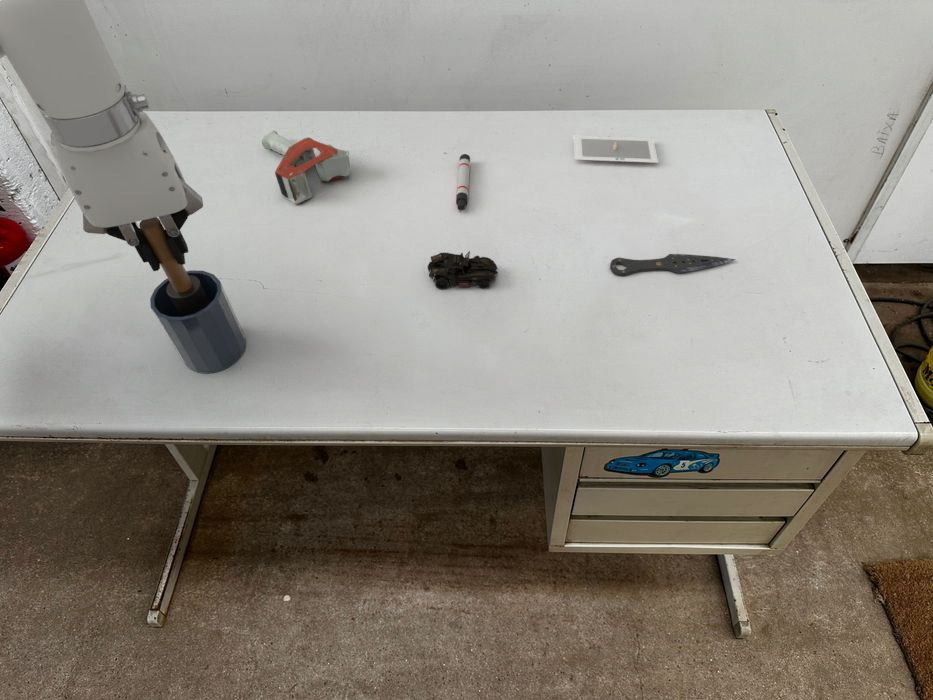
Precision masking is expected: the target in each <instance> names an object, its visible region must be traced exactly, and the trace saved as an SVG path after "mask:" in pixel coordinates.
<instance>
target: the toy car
mask: <svg viewBox="0 0 933 700" xmlns="http://www.w3.org/2000/svg"><path fill="white" fill-rule="evenodd" d="M470 255H471V251H470V250H469V251H468V252H467V253H466V254H465V255H464V253H463V252H461V253H460V254H456V253H450V252H439V253H437V254H433V255H432V256H430V261H429V263H428V264H427V270H428V273H429V274H428V277H430V278H431V279H432V280H433V282H435V287H436V288H437V289H439V290H445V289H446V290H447V289H448V288H449V287H450V288H452V287H456V286H457V287H459V288H460V287H461V288H469V287H470V286H471V285H472V286H477V285H478V286H479V288H481V289H483V290H484V289H488V288H489V287H490V285H491V282H494V281H495V280H496V276H497V274H498V272H499V271H497V270H498V267H497V264H496V263H495V261H494V260H493V259H492V258H490V257H487V256H480V255H475V256H473V257H470Z"/></svg>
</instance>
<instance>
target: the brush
mask: <svg viewBox="0 0 933 700" xmlns="http://www.w3.org/2000/svg"><path fill="white" fill-rule="evenodd" d="M138 226H139V228H141V230H142V232H143V234H144V236H145V238H146V239H147V241H148V243H149V245H150V247H151V248H152V250H153V252H154V254H155V256H156V257H157V259H158V261H159V263H160V268H161V269H162V270H163V272H164V273H165V276H166V278H168V279H169V281H170V283H169V285H168V286H167V294H168V295H169V297H170V299H171V301H172V302H173V304H174V306H175V308H176V309H177V311H178V313H179V315H180V316H181V317H184V316H188V315H192V314H195V313H197V312H199V311H201V310H203V309H204V308H206V307H207V306H208V305H209V304H210V301H209V299H208V297H207V295H206V293H205V291H204V289H203V287H202V285H201V283H200V281H199V279H198V278H197V277H195V276H191V275H188V274H187V272H186V271H187V270H186V268H185V266H184V264H183V265H180V264H178V263H177V261H176V259H175V257H174V255H173V253H172V251H171V249H170V248H169V246H168V244H167V242H166V233H165V228H164V226H163V224H162V222H161V221H160V219H159V217H155V218H150V219H146V220H141V221H139V224H138Z"/></svg>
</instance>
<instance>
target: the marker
mask: <svg viewBox="0 0 933 700" xmlns="http://www.w3.org/2000/svg"><path fill="white" fill-rule="evenodd" d="M458 162H459V163H458V172H457V183H456V196H455V204H456V205H457V209H458V210H459V212H460V213H461V212H462V211H464V210H465V209H466V206H467V205H468V200H469V187H470V186H469V185H470V173H471V172H470V171H471V170H470V169H471V156H470V155H469V154H467V153H463V154H461V155H460V156H459V161H458Z"/></svg>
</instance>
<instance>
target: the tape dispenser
mask: <svg viewBox="0 0 933 700" xmlns="http://www.w3.org/2000/svg"><path fill="white" fill-rule="evenodd" d="M261 144H262V147H263V149H265V150H271V151H273V152H275V153H279V154H280V155H282V156H283V157H282V158H281V161H279V164H278V165H277V167H276V169H275V172H274V174H275V177H276V181H277V183H278V187H279V190H280V193H281V195H282V196H283V197H284V199H286V200H288V202H289V201H290V202H291V203H292V204H294V205H299V204H300V203H303V202H304V201H307V200H309V199H311V197H312V192H311V189H310V187H309V183H308V180H307V175H306V173H305V172H306V171H307V170H308V169H310V168H312V167H313V166H315V170H316V173H317V176H318V177H319V179H320V180H321V181H324V182H329V181H330V180H333V181H337V180H340V178H341V177H348V176H349V175H350V173H351V161H350V157H349V156H350V152H349V150H343V149H339V148H336V147H334V146H333V145H332V144H325V143H322V142H319V141H317V140H314V139H313V138H311V137H304V138H303V139H300V140H299V141H297V142H293V141H291V140H290V139H288V138H286V137H284V136H283V135H282V136H281V135H280V134H279V133H278V132H277V130H271V131H269V132H268V133H266V134H265V135H263V137H262V139H261ZM314 149H316V150H317V151H319V154H318V155H317V156H316V154H315V150H314Z"/></svg>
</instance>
